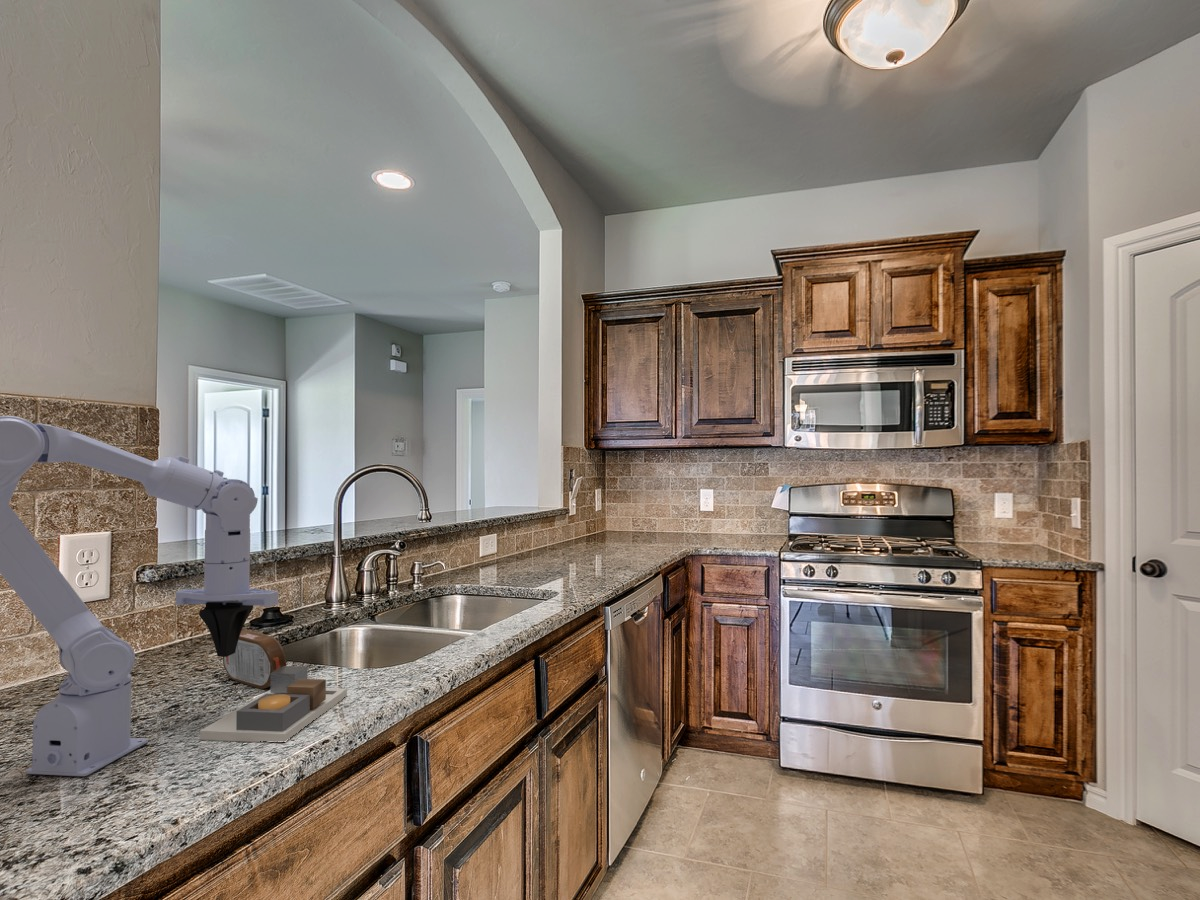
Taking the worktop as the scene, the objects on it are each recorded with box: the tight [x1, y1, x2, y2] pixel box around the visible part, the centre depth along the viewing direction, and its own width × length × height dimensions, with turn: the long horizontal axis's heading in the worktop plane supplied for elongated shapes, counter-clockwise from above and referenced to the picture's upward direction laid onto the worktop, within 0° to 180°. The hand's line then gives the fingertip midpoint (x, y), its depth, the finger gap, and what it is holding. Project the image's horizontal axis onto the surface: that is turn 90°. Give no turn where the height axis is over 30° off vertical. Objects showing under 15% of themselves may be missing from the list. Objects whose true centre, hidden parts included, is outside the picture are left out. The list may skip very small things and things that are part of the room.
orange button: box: [258, 694, 290, 710], centre depth 88 cm, size 4×4×2 cm
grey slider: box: [269, 665, 308, 693], centre depth 100 cm, size 4×4×3 cm
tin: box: [222, 629, 287, 690], centre depth 107 cm, size 15×3×8 cm, turn 59°
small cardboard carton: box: [287, 678, 327, 708], centre depth 94 cm, size 4×4×3 cm
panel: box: [199, 687, 348, 743], centre depth 93 cm, size 17×12×4 cm
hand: (226, 654), depth 92 cm, fingers closed
